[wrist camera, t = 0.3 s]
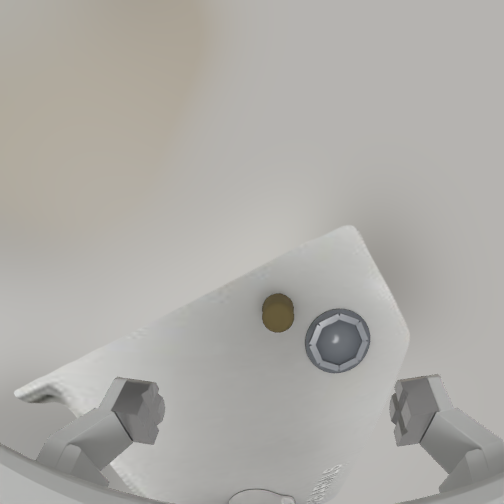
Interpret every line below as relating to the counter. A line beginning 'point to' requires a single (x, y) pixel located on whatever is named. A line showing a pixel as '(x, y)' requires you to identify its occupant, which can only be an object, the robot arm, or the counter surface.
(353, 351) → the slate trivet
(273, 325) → the olive brown pepper mill
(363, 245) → the counter surface
